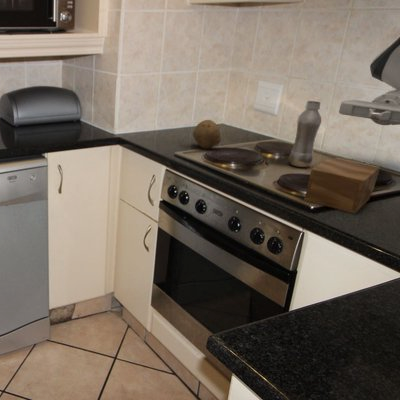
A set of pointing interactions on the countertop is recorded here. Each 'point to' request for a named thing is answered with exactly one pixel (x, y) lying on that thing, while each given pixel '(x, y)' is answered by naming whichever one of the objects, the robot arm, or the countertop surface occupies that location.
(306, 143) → the plastic bottle
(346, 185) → the wooden block
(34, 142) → the countertop surface
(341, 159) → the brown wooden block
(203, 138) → the brown coconut
